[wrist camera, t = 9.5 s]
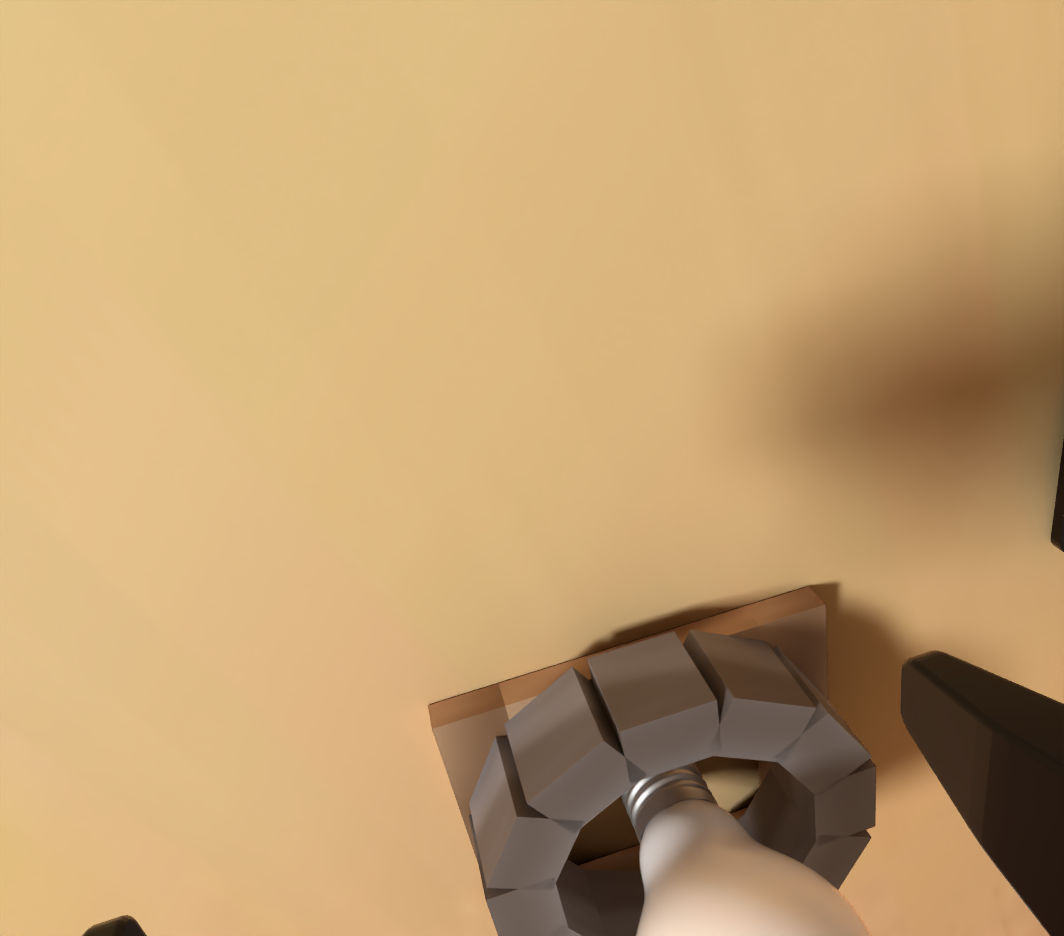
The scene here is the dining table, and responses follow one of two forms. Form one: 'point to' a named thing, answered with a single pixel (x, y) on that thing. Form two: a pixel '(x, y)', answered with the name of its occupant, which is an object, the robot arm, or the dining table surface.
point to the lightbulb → (722, 870)
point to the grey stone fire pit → (653, 759)
